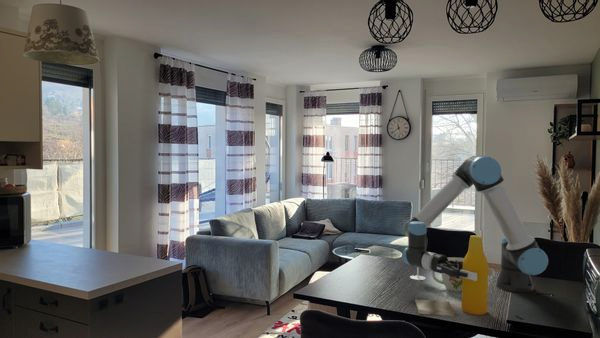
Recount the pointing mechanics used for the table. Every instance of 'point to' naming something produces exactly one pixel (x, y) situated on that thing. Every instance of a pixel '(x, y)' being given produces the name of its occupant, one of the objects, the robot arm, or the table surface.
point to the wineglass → (418, 269)
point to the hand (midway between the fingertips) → (485, 274)
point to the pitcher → (450, 278)
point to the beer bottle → (477, 290)
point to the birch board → (434, 307)
